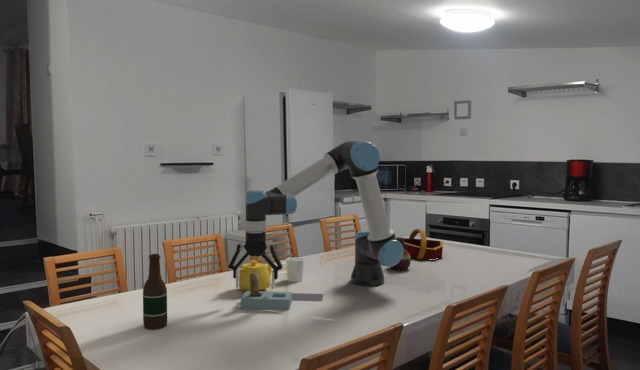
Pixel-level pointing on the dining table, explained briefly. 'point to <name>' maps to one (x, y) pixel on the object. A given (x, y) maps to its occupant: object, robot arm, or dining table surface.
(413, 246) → the decorative basket
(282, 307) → the hole block
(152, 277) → the beer bottle
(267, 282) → the teapot
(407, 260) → the vase
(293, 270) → the white cup
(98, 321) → the dining table surface
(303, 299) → the mat
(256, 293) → the peg
